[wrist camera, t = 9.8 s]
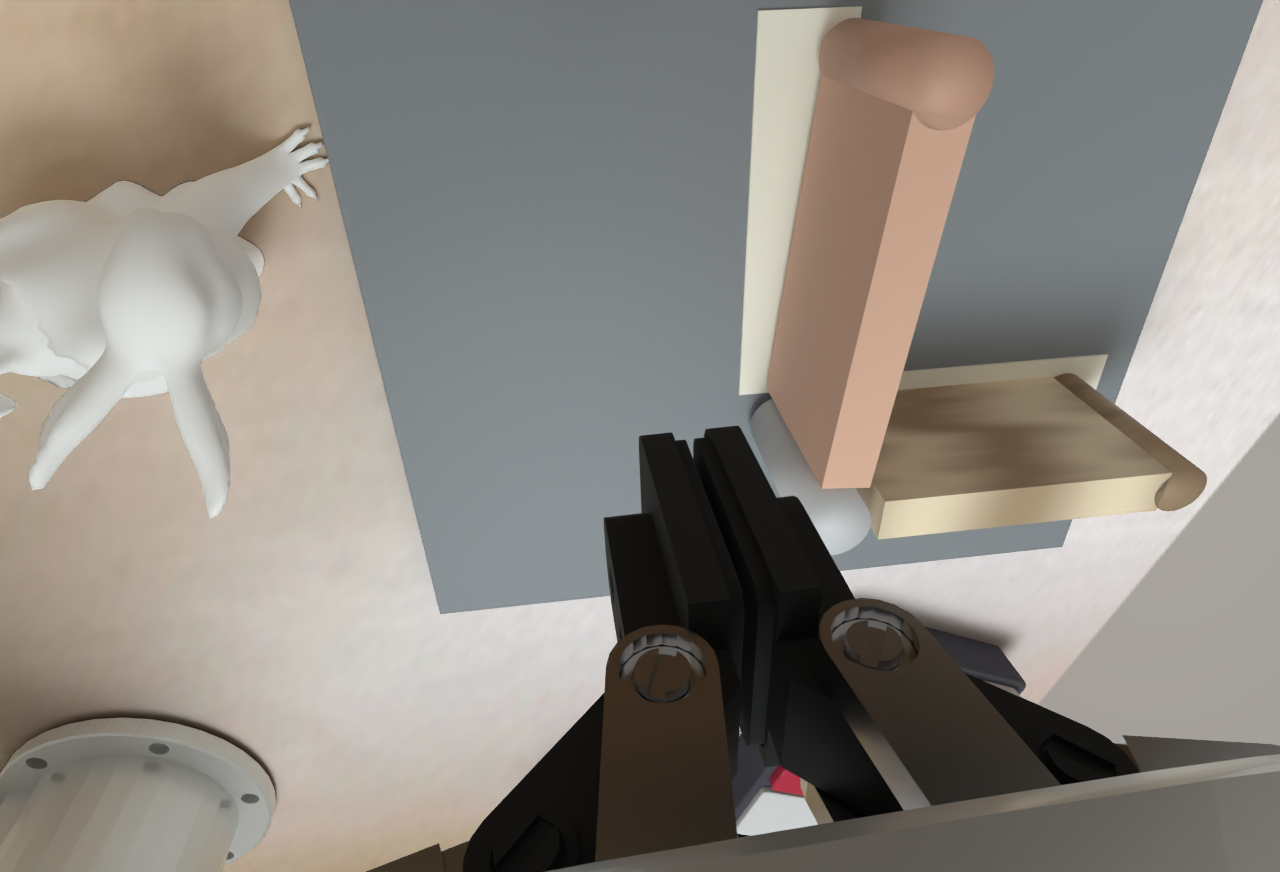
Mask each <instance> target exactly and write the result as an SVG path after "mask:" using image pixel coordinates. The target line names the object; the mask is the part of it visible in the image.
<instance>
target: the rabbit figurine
mask: <svg viewBox="0 0 1280 872" xmlns="http://www.w3.org/2000/svg"><path fill="white" fill-rule="evenodd" d="M310 129H311V127H307V128H305V129H303V130H300V129H297V130H295V131H294V133H293V134H292V135H291V136H290V137H289V138H288V139H286V140H285V141H284V142H283V143H281V144H280V145H279V146H277V147H275V148H274V149H272V150H271V151H269V152H267V153H265V154H263V155H261V156H259V157H257V158H255V159H253V160H251V161H248V162H246V163H244V164H241V165H238V166H235V167H232V168H229V169H226V170H223V171H219V172H216V173H213V174H211V175H208V176H206V177H203V178H201V179H199V180H197V181H195V182H192V181H190V182H185V183H183V184H180V185H178V186H176V187H175V188H173V189H172V190H170V191H169V192H168V193H166V194H165V195H163V196H159V195H157V194H155V193H153V192H151V191H149V190H147V189H145V188H144V187H142V186H140V185H137V184H135V183H133V182H128V181H119V182H116V183H114V184H113V185H111V186H110V187H108V188H107V189H105V190H104V191H102V192H101V193H99V194H98V195H96V196H95V197H93V198H92V199H90V200H89V201H87V202H80V201H72V200H50V201H45V202H39V203H34V204H29V205H26V206H23V207H21V208H19V209H17V210H16V211H14V212H13V213H11V214H9V215H7V216H5V217H3V218H1V219H0V375H1V374H4V373H8V372H14V373H17V374H21V375H27V376H38V379H42V380H47V381H48V382H50V383H52V384H54V385H55V386H57V387H62V388H68V389H69V390H68V391H67V392H66V393H65V394H64V395H63V396H62V397H61V398H60V399H59V400H58V401H57V402H56V403H55V404H54V405H53V407H52V410H51V412H50V414H49V415H48V417H47V418H46V420H45V422H44V423H43V427H42V430H41V435H40V440H39V446H38V452H37V453H36V461H35V462H34V463H33V465H32V466H31V467H30V471H29V482H30V485H31V486H32V490H36V489H43V488H44V487H45V486H46V484H47V483H48V481H49V480H50V479H51V477H52V476H53V474H54V473H55V472H56V470H57V469H58V467H59V466H60V465H61V464H62V462H63V461H64V460H65V458H66V457H67V456H68V455H69V454H70V453H71V452H72V451H73V449H74V448H75V447H76V446H77V445H78V444H80V443H81V442H82V440H83V439H84V438H85V437H86V436H88V435H89V434H90V433H91V432H92V431H93V430H94V429H95V428H96V427H97V426H98V425H99V424H100V422H101V421H102V420H103V419H104V418H105V416H106V415H107V414H108V413H109V412H110V410H111V409H112V408H113V407H114V406H115V404H116V403H117V402H118V401H119V400H120V399H121V398H133V397H144V396H151V395H158V394H162V393H166V392H169V396H170V400H171V404H172V408H173V412H174V415H175V419H176V422H177V425H178V428H179V431H180V433H181V436H182V438H183V440H184V443H185V445H186V447H187V449H188V452H189V454H190V456H191V458H192V460H193V463H194V465H195V468H196V470H197V473H198V476H199V479H200V482H201V486H202V489H203V493H204V499H205V503H206V508H207V511H208V515H209V517H210V519H211V518H213V517H214V516H216V515H218V514H219V513H220V512H221V510H222V508H223V507H224V505H225V502H226V500H227V492H228V489H229V486H230V459H229V441H228V436H227V432H226V430H225V427H224V425H223V423H222V421H221V418H220V415H219V413H218V411H217V410H216V407H215V403H214V401H213V399H212V397H211V395H210V392H209V390H208V388H207V385H206V383H205V380H204V376H203V372H202V368H201V362H202V361H203V360H205V359H208V358H210V357H212V356H213V355H215V354H217V353H218V352H220V351H221V350H222V349H223V348H224V347H225V346H227V345H228V344H230V343H231V342H233V341H234V340H236V339H237V338H238V337H239V336H241V335H242V334H244V333H245V332H246V331H247V330H248V329H249V328H250V327H251V326H252V325H253V324H254V321H255V319H256V316H257V313H258V308H259V304H260V300H261V287H260V282H259V278H258V277H259V276H260V275H261V273H262V271H263V267H264V257H263V255H262V253H261V251H260V250H259V249H258V248H257V247H256V246H255V245H253V244H251V243H250V242H248V241H246V240H245V239H243V238H241V237H239V236H237V235H238V234H239V232H240V231H241V229H242V228H243V226H244V225H245V224H246V222H247V221H248V220H249V219H250V218H251V217H252V216H253V215H254V214H255V213H256V212H257V211H258V210H259V209H260V208H262V207H263V206H264V205H265V204H266V203H267V202H268V201H269V200H271V199H272V198H273V197H274V196H275V195H276V194H277V193H279V192H280V191H281V190H282V189H284V190H285V191H286V192H287V193H288V195H289V197H290V199H291V200H292V202H293V203H296V204H297V205H298V206H299V207H300V208H302V206H301V203H300V202H301V197H300V196H299V194H298V193H297V191H296V189H295V187H294V184H295V185H296V186H297V187H299V188H300V189H302V190H303V191H304V192H305V193H306V195H307V196H309V197H311V198H313V197H314V198H315V199H316V200H318V201H319V199H318V198H317V196H316V192H315V191H314V190H313V189H312V188H311V187H310V186H309V185H308V184H307V183H306V182H305V181H304V180H303V178H302V177H301V175H302V174H304V173H306V172H309V171H312V170H314V169H317V168H323V167H325V166H326V165H327V163H328V162H329V160H328V158H327V159H323V158H321V157H319V158H316V159H313V160H308V161H304V162H301V161H302V160H304V159H306V158H308V157H309V156H311V155H314V154H317V153H318V152H319V150H318V149H319V148H320V147H321V146H322V145H323V144H324V143H323V142H319V143H316V144H314V143H312V142H311V143H309V144H307V145H306V146H305V147H303V148H300V149H298V150H296V151H294V152H291V151H292V150H293V149H294V148H295V147H296V146H297V145H298V144H299V143H300V142H302V141H303V140H304V139H305V135H306V134H307V133H308V132H309V131H310ZM299 162H301V163H299ZM17 405H18V404H17V403H16V402H14V401H12V400H11V399H9V398H7V397H5V396H3V395H2V394H0V418H1V417H2V416H5V415H7V414H8V413H10V412H12V411H13V410H14V409H15V408H16V407H17Z"/></svg>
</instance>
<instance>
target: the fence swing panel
mask: <svg viewBox="0 0 1280 872" xmlns="http://www.w3.org/2000/svg"><path fill="white" fill-rule="evenodd" d="M819 68H820V72H821V75H822V76H821V82H820V87H819V93H818V99H817V104H816V110H815V115H814V121H813V127H812V132H811V138H810V144H809V149H808V155H807V161H806V166H805V172H804V178H803V183H802V189H801V195H800V200H799V206H798V212H797V217H796V223H795V229H794V234H793V240H792V245H791V251H790V257H789V262H788V268H787V274H786V279H785V285H784V291H783V296H782V302H781V308H780V313H779V319H778V325H777V330H776V336H775V342H774V347H773V353H772V358H771V364H770V370H769V375H768V381H767V387H766V388H767V390H768V392H769V394H770V395H771V397H772V399H771V400H769V401H767V402H765V403H764V404H762V405H761V406H760V407H759V408H758V409H757V410H756V411H755V413H754V415H753V416H752V419H751V423H750V431H751V434H752V437H753V439H754V441H755V443H756V445H757V447H758V450H759V452H760V454H761V456H762V458H763V460H764V463H765V465H766V467H767V469H768V471H769V473H770V476H771V478H772V480H773V482H774V484H775V486H776V489H777V491H778V493H779V495H780V497H786V496H795V497H798V499H799V500H800V502H801V503H802V505H803V506H804V508H805V510H806V512H807V514H808V515H809V517H810V519H811V521H812V523H813V524H814V526H815V528H816V530H817V531H818V533H819V535H820V537H821V539H822V540H823V542H824V544H825V546H826V548H827V549H828V551H829V553H830V555H837V554H841V553H844V552H846V551H848V550H850V549H852V548H853V547H855V546H856V545H858V544H859V543H860V542H861V541H862V540H863V539H864V538H865V536H866V535H867V533H868V531H869V529H870V526H871V515H870V512H869V510H868V508H867V507H866V505H865V503H864V502H863V500H862V498H861V497H860V495H859V494H858V492H857V490H856V489H855V488H870V486H871V482H872V479H873V475H874V472H875V468H876V465H877V461H878V458H879V454H880V451H881V447H882V444H883V440H884V437H885V433H886V429H887V426H888V422H889V419H890V415H891V412H892V408H893V405H894V401H895V398H896V394H897V391H898V387H899V384H900V380H901V377H902V373H903V370H904V366H905V363H906V359H907V356H908V352H909V349H910V345H911V342H912V338H913V335H914V331H915V328H916V324H917V320H918V317H919V313H920V310H921V306H922V303H923V299H924V296H925V292H926V289H927V285H928V282H929V278H930V275H931V271H932V268H933V264H934V261H935V257H936V254H937V250H938V247H939V243H940V240H941V236H942V233H943V229H944V226H945V222H946V219H947V215H948V212H949V208H950V204H951V201H952V197H953V194H954V190H955V187H956V183H957V180H958V176H959V173H960V169H961V166H962V162H963V159H964V155H965V152H966V148H967V145H968V141H969V138H970V134H971V131H972V127H973V124H974V120H975V117H976V114H977V113H978V112H979V111H980V109H981V108H982V107H983V105H984V104H985V102H986V100H987V98H988V96H989V94H990V91H991V88H992V85H993V80H994V64H993V60H992V57H991V54H990V52H989V51H988V49H987V48H986V46H985V45H984V44H983V43H981V42H980V41H978V40H977V39H975V38H972V37H967V36H961V35H955V34H950V33H944V32H938V31H932V30H926V29H921V28H915V27H909V26H903V25H897V24H892V23H886V22H880V21H874V20H868V19H863V18H849V19H846V20H843V21H841V22H840V23H838V24H837V25H835V26H834V27H833V28H832V29H831V30H830V31H829V32H828V34H827V35H826V37H825V38H824V40H823V42H822V45H821V48H820V52H819Z"/></svg>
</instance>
